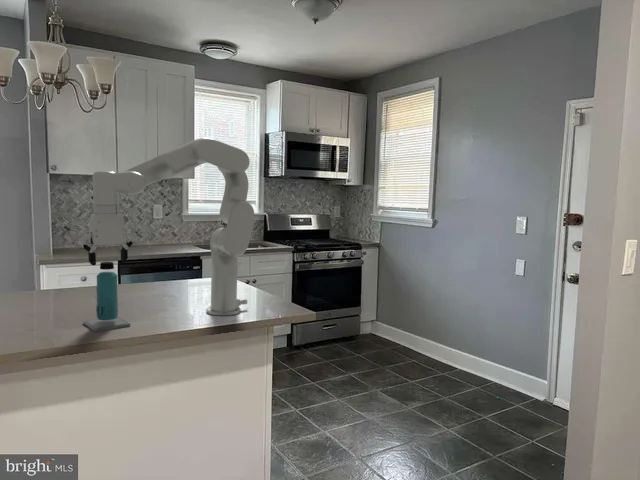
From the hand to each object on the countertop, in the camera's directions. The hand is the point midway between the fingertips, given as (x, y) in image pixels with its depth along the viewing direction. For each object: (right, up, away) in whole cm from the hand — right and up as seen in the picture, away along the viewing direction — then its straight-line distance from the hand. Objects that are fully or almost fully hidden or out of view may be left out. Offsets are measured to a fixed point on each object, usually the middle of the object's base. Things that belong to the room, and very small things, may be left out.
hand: (108, 263), depth 152 cm
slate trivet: (-1, -20, +2) cm, 21 cm away
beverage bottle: (-1, -20, +2) cm, 20 cm away
